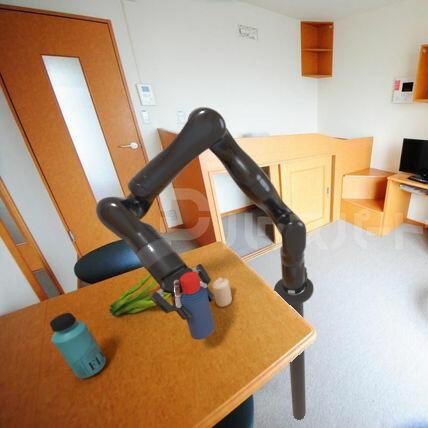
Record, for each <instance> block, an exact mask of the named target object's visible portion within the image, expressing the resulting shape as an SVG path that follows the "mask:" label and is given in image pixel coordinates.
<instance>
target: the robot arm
mask: <svg viewBox="0 0 428 428" xmlns="http://www.w3.org/2000/svg"><path fill="white" fill-rule="evenodd" d="M208 149H209V151H210V152H211V153H212V154H214V156H215V157H216V158H217V159H218V160H219V161H220V162H221V164H222V166H223V167H224V169H225V170H226V172H227V173H228V175H229V177H230V178H231V179H232V180H233V182H234V183H235V184H236V186H237V187H238V188H239V189H240V190H241V192H242V193H243V194H244V195H245V196H246V197H247V198H248V199H249V200H250V201H251V203H253V204H254V205H255V206H257V207H258V208H259V209H261V210H262V211H264V212H265V214H266V215H267V216H268V218H269V219H270V220H271V221H272V223H273V225H274V226H275V227H276V230H277V231H278V233H279V234H280V236H281V247H280V248H279V252H280V253H279V255H280V267H281V279H282V284H283V287H282V288H283V292H284V293H285V294H287V295H289V296H296V295H299V294H301V293H303V292H304V290H305V287H307V278H308V271H307V267H306V265H305V250H306V248H307V227H306V224H305V222H304V221H303V220H302V219H301V218H300V216H298V215H297V214H296V212H295V211H293V210H292V209H291V208H290V207H289V205H287V204H286V203H285V201H284V200H283V199H282V198H281V196H280V194H279V192H278V190H277V188H276V187H275V185H274V184H273V182H272V181H271V179H270V178H269V176H268V175H267V174H266V172H264V170H263V169H262V167H261V166H260V165H259V164H258V163H257V162H256V161H255V160H254V159H253V158H252V157H251V156H250V155H249V154H248V153H247V152H246V151H245V150H244V149H243V148H242V147H241V146H240V145H239V144H238V143H237V141H236V140H235V138H234V136H233V135H232V133H230V131H229V129H228V128H227V125H226V121H225V118H224V117H223V116H222V114H221V113H219V112H218V111H217V110H216V109H213V108H211V107H207V106H199V107H196V108H194V109H193V110H191V111H190V113H189V114H188V116H187V119H186V122H185V124H184V125H183V126H182V128H181V130H180V131H179V132H178V134H177V135H176V137H175V138H174V139H173V140H172V141H171V142H170V143H169V144H168V145H167V146H166V147H165V148H164V149H162V150H161V151H160V152H159V153H158V154H156V155H155V156H154V157H152V159H150V160H149V161H148V162H147V163H146V164H145V165H143V166H142V168H140V170H138V171H137V173H135V174H134V175H133V176H132V177H131V178H130V179H129V181H128V182H127V185H126V187H127V189H128V191H129V192H130V193H129V194H128V195H127V196H126V197H123V196H122V197H121V196H106V197H102V198H101V199H99V200H98V202H97V203H96V205H95V215H96V217H97V219H98V220H99V223H101V224H102V226H103V227H104V228H106V229H108V230H109V232H111V233H113V234H114V235H115V236H116V237H118V238H120V239H121V240H123V241H124V242H125V243H126V244H127V246H128V247H129V248H130V249H131V251H132V252H133V253H134V254H135V255H136V257H137V258H138V260H139V262H140V263H141V265H142V267H143V268H144V269H146V271H147V272H148V274H149V273H150V274H151V278H153V279H154V280H156V282H157V283H156V284H158V285H159V289H158V290H156V291H154V292H152V295H151V294H150V295H151V297H150V299H151V300H152V301H153V302H154V303H155V304H156V305H155V306H157V307H158V308H159V309H160V310H161V311H162V312H164V313H165V314H170V313H171V312H176V313H177V314H178V315H179V317H180V319H182V320H183V321H187V320H189V319H190V318H192V316H191V314H190V313H189V312H188V311H187V309H186V308H185V307H184V306H182V304H181V295H182V293H183V290H182V286H181V283H180V278H181V276H182V275H184V274H186V273H188V272H196V273H197V274H198V276H199V281H200V280H202V281H200V286H202V287H204V288H205V289H206V290H207V294H208V298H209V303H211V302H213V301H214V300H215V295H214V292H213V291H212V290H210V288H209V287H208V286H209V284H210V283H211V282H212V278H211V277H210V276H209V274H208V272H207V271H206V269H205V268H204V266H203V265H202V263H198V264H197V265H196V266H194V267H192V268H190V267H189V266H187V264H186V262H185V261H184V259H182V257H181V256H180V255H179V253H178V252H177V251H176V250H175V249H174V247H172V245H171V243H170V242H168V241H167V240H166V239H165V238H164V237H163V236H162V235H161V233H160V232H159V231H158V229H157V228H156V227H155V226H153V224H151V223H148V222H145V221H142V219H143V218H145V217H146V215H147V214H148V213H149V211H150V209H151V208H152V206H153V205H154V202H155V201H156V198H157V197H159V196H160V195H161V194H162V193H163V192H164V190H166V188H168V186H170V185H171V183H173V181H174V180H175V179H177V177H178V176H179V175H180V174H181V173H182V172H183V171H184V170H185V169H186V168H187V167H188V166H189V165H190V164H191V163H192V162H193V161H194V160H195V159H197V158H198V157H199V156H201V155H202V154H203V153H204V152H206V151H207V150H208ZM163 292H165V293H170V294H171V295H170V299H171V302H172V304H171V303H170V302H168V301H167V300H166V299H164V298H163V297H165V296H164V295H163ZM169 303H170V304H171V305H172V306H171V305H170V304H169Z"/></svg>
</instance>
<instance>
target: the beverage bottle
mask: <svg viewBox="0 0 428 428" xmlns="http://www.w3.org/2000/svg"><path fill="white" fill-rule="evenodd" d="M49 326H50V328H51V329H50V330H52V332H53V334H52V336H51V340H50V341H51V342H52V344H53V345H54V346H55V347H56V349H57V350H58V352H59V354H60V355H61V356H62V357H63V359H64V360H65V361H64V362H65V363H66V365H67V366H68V368H69V369H70V370H71V372H72V374H73V375H74V376H75V377H77V378H78V379H88V378H89V377H92V376H95V375H96V374H97V373H99V372H100V371H101V370H102V369H103V368H104V366H105V364H106V363H107V362H106V355H105V354H104V351H103V349H102V348H101V346H100V345H99V343H98V341H96V340H97V339H96V338H95V336H94V335H93V333H92V331H91V329H90V328H89V327H88V326H87V323H86V322H85V321H82V320H77V318H76V317H75V316H74V315H73V313H72V312H64V313H61V314H59V315H57V316H55V317H54V318H53V319H51V321H50V322H49Z"/></svg>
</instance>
